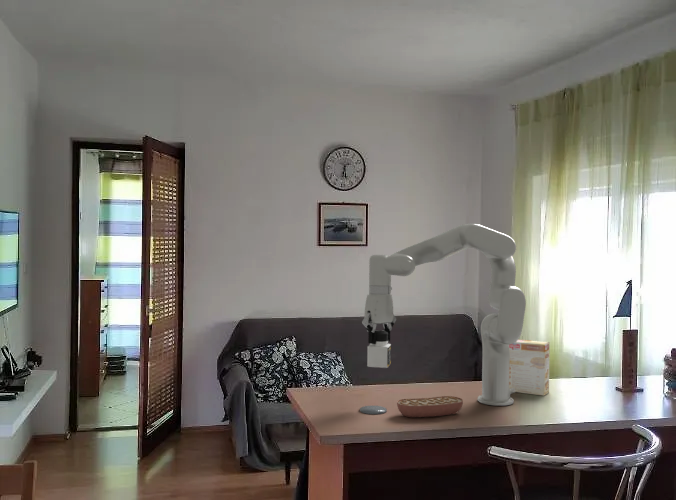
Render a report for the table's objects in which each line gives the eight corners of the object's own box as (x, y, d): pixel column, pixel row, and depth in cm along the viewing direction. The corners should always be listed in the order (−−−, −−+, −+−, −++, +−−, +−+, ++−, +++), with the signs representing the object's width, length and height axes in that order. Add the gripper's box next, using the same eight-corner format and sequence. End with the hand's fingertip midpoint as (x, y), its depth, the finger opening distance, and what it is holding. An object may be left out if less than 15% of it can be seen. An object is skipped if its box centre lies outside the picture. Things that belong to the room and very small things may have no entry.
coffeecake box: (549, 392, 249) (550, 341, 249) (544, 396, 243) (545, 344, 243) (510, 387, 257) (511, 338, 257) (505, 391, 251) (505, 340, 251)
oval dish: (455, 409, 225) (455, 395, 225) (468, 417, 215) (468, 402, 215) (392, 414, 219) (393, 399, 219) (404, 422, 209) (404, 407, 209)
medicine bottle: (387, 368, 221) (388, 332, 221) (367, 366, 223) (367, 331, 222) (390, 364, 228) (391, 329, 228) (370, 363, 230) (370, 329, 229)
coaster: (373, 405, 229) (373, 404, 229) (392, 411, 222) (392, 409, 222) (354, 410, 223) (354, 408, 223) (373, 415, 216) (373, 414, 216)
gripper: (390, 288, 233) (389, 338, 234) (354, 291, 222) (353, 343, 222) (405, 290, 227) (404, 341, 228) (369, 292, 216) (368, 346, 217)
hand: (379, 342), depth 225 cm, fingers closed on medicine bottle, 6 cm apart
